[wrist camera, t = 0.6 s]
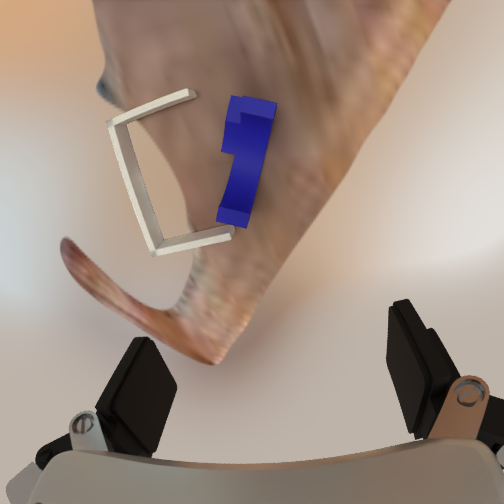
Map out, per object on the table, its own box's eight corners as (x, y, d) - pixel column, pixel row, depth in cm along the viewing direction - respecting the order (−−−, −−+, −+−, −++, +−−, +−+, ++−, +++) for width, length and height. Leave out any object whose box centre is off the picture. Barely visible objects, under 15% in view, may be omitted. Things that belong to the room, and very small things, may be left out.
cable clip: (235, 97, 29) (226, 92, 24) (276, 106, 29) (276, 103, 24) (213, 201, 34) (200, 217, 29) (251, 210, 34) (246, 228, 29)
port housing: (118, 120, 30) (106, 121, 28) (195, 90, 29) (187, 88, 26) (160, 247, 37) (152, 257, 34) (235, 229, 35) (231, 239, 32)
